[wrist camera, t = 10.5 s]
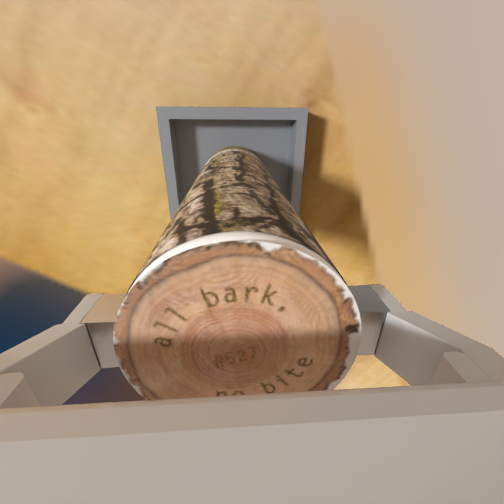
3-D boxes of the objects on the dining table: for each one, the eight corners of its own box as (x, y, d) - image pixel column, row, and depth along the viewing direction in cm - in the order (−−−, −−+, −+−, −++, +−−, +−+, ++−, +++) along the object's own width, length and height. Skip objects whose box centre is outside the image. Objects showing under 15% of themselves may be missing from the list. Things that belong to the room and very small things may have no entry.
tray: (163, 108, 27) (155, 106, 24) (301, 109, 28) (308, 108, 25) (179, 236, 33) (174, 246, 30) (291, 234, 34) (296, 244, 31)
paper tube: (195, 154, 28) (58, 280, 6) (257, 137, 28) (353, 204, 6) (214, 213, 32) (170, 444, 9) (270, 199, 31) (368, 401, 9)
